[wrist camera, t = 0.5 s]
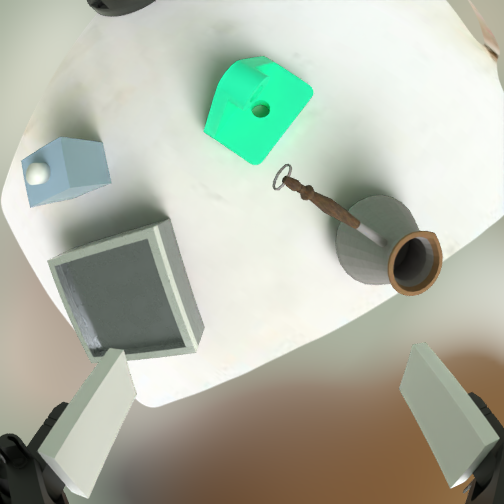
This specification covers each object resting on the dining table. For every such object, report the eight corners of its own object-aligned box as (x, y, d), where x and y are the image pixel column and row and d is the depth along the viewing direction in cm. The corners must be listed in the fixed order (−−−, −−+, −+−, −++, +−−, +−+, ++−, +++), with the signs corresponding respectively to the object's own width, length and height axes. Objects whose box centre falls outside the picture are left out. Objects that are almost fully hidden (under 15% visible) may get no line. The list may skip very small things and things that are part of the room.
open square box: (72, 248, 38) (47, 260, 32) (170, 218, 37) (153, 227, 31) (108, 341, 42) (91, 363, 36) (204, 327, 41) (196, 352, 34)
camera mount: (257, 168, 35) (256, 165, 25) (207, 134, 34) (188, 120, 24) (312, 96, 33) (332, 69, 23) (263, 63, 32) (265, 27, 22)
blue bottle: (65, 160, 35) (10, 161, 23) (102, 142, 34) (49, 135, 23) (74, 198, 36) (19, 210, 25) (111, 183, 36) (59, 189, 24)
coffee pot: (420, 222, 36) (488, 248, 22) (379, 290, 39) (429, 345, 24) (292, 135, 34) (315, 109, 19) (247, 214, 37) (239, 241, 22)
